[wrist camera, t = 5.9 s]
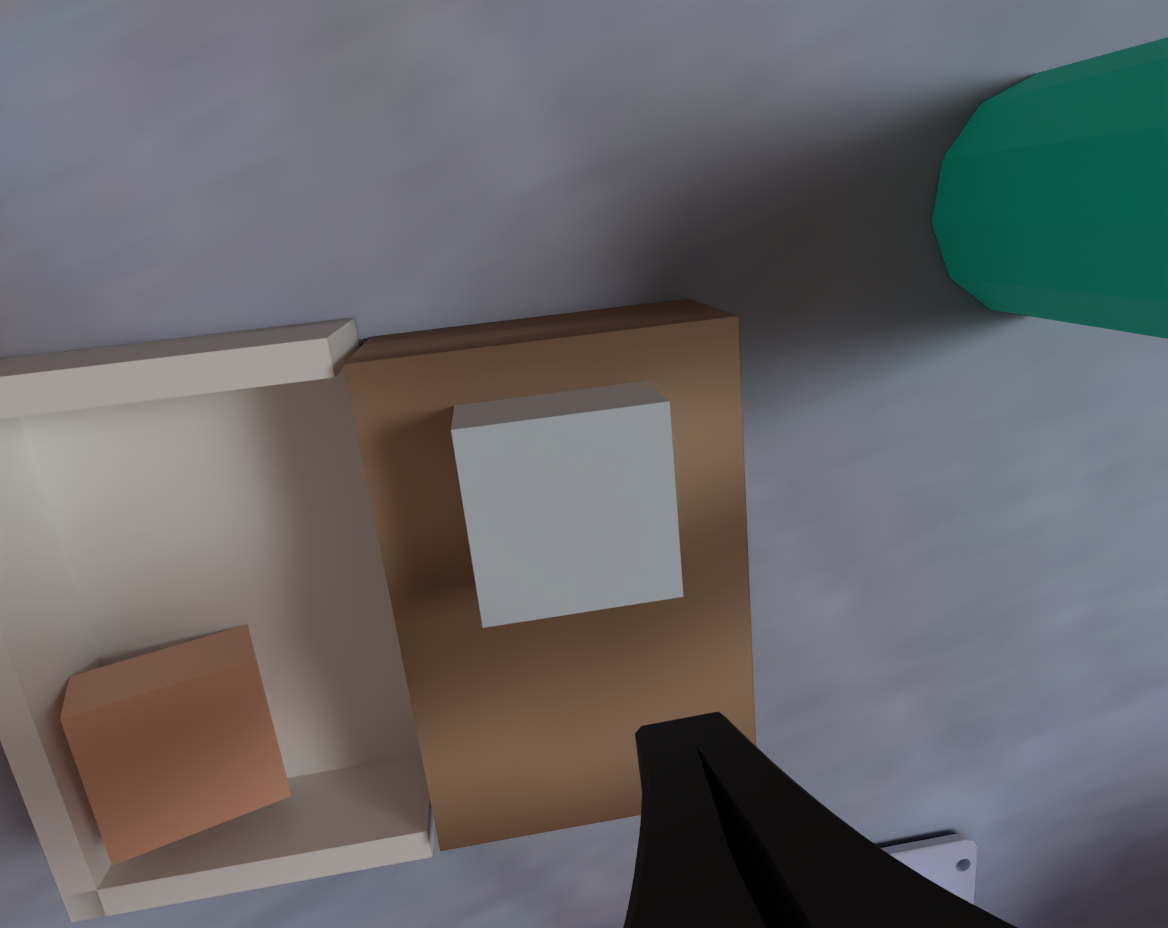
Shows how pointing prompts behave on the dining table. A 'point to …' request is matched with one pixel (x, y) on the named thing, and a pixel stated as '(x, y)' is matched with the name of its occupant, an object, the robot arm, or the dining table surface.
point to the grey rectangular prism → (569, 501)
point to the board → (569, 642)
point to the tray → (205, 596)
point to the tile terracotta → (174, 742)
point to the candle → (1066, 195)
